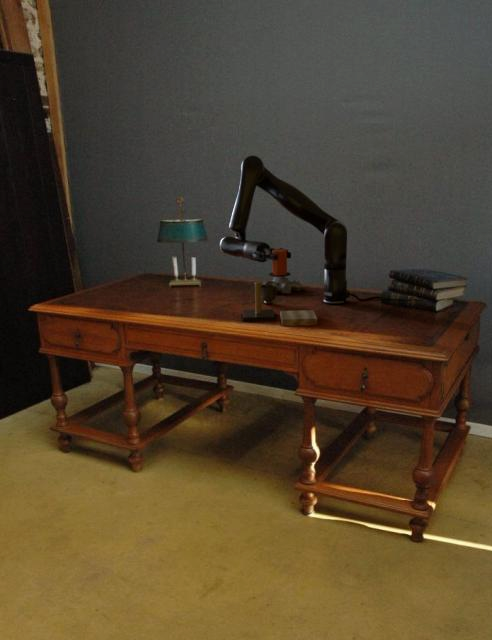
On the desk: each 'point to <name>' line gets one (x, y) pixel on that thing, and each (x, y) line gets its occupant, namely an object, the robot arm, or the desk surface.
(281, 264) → the hat
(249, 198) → the robot arm
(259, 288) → the hat stand
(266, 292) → the dark ridged round part
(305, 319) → the grey stone tile
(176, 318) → the desk surface
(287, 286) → the fossil
